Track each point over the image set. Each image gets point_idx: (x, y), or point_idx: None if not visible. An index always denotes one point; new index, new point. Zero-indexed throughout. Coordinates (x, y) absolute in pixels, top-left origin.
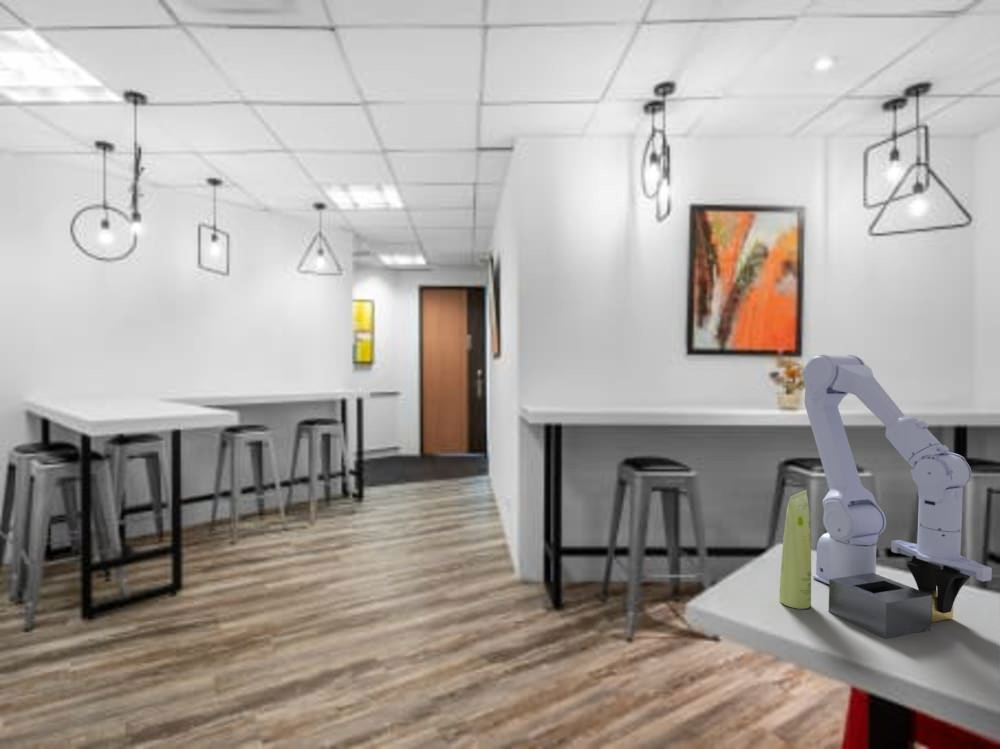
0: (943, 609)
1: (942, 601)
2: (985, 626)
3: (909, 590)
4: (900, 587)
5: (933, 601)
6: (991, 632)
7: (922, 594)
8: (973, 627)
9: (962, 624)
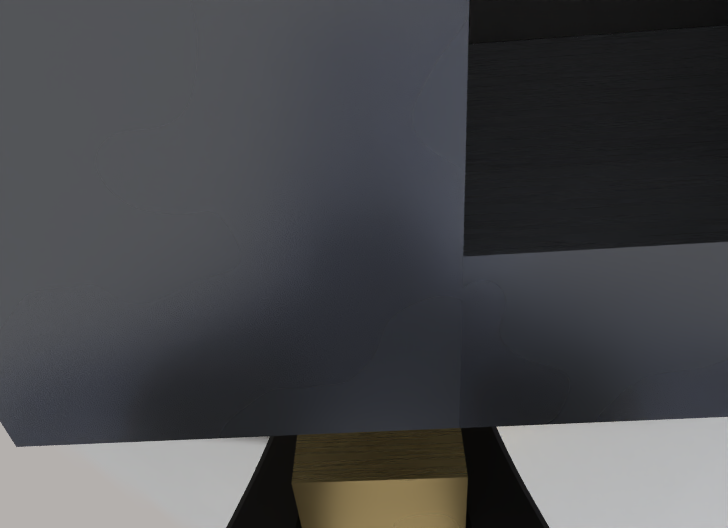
0: (270, 439)
1: (241, 506)
2: (211, 516)
3: (318, 249)
4: (587, 238)
5: (296, 447)
6: (123, 483)
7: (31, 313)
8: (203, 456)
9: (257, 438)
